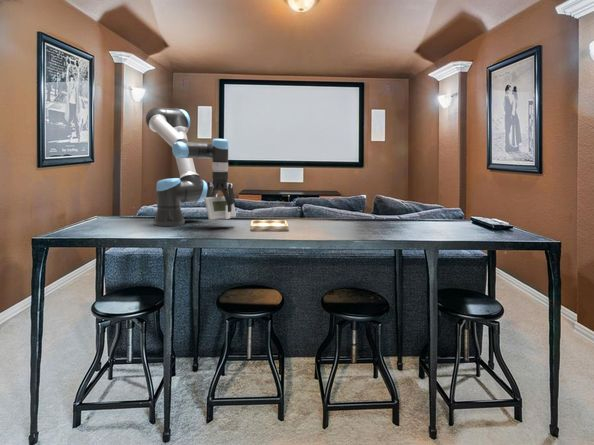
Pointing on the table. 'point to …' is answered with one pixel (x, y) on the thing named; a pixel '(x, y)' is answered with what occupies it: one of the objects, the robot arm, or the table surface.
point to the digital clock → (218, 208)
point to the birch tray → (269, 225)
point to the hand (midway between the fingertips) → (220, 217)
